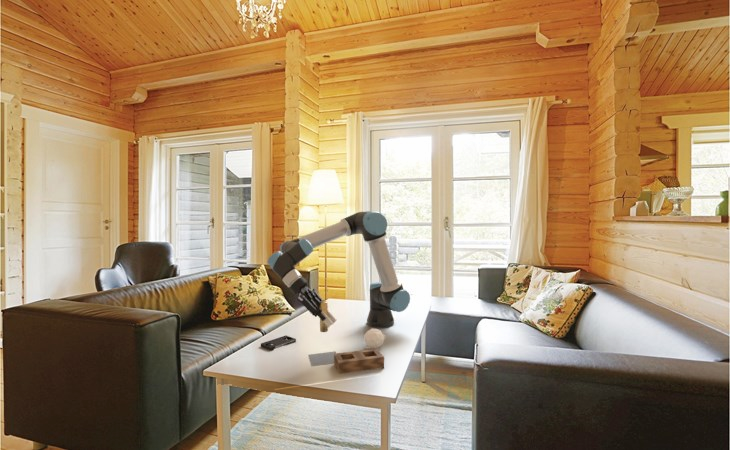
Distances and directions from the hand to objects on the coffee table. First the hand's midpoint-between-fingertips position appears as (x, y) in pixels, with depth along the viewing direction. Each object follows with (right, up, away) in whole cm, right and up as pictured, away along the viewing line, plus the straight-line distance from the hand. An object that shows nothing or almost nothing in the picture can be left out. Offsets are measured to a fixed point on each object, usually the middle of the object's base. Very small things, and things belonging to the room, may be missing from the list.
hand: (332, 323), depth 140 cm
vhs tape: (-27, -16, +19) cm, 37 cm away
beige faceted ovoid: (+19, -15, +14) cm, 28 cm away
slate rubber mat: (-4, -15, +1) cm, 16 cm away
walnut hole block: (+11, -15, -6) cm, 20 cm away
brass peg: (-4, -3, +1) cm, 5 cm away
